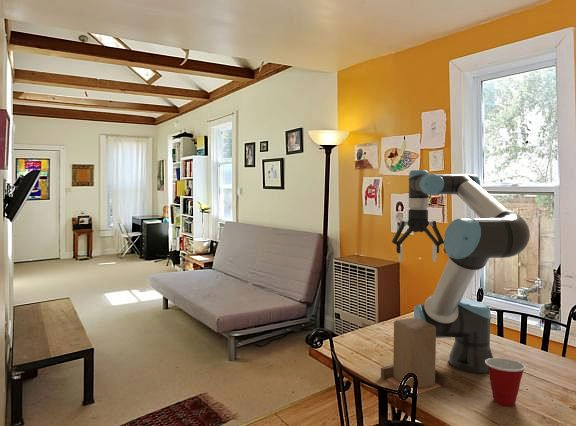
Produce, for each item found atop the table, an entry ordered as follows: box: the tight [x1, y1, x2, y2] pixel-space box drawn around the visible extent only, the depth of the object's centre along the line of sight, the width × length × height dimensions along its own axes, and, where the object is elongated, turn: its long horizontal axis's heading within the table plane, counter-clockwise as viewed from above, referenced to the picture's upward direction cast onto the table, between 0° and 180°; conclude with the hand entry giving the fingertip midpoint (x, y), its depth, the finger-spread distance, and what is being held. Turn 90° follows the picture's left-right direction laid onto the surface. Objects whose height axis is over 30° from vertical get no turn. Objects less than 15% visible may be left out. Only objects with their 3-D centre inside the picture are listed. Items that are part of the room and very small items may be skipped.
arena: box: [380, 364, 449, 388], centre depth 136 cm, size 15×15×4 cm
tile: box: [386, 377, 442, 395], centre depth 136 cm, size 12×12×1 cm
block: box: [392, 317, 437, 389], centre depth 135 cm, size 10×10×20 cm
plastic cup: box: [485, 357, 526, 407], centre depth 123 cm, size 11×11×12 cm
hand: (417, 261), depth 166 cm, fingers open, 13 cm apart
